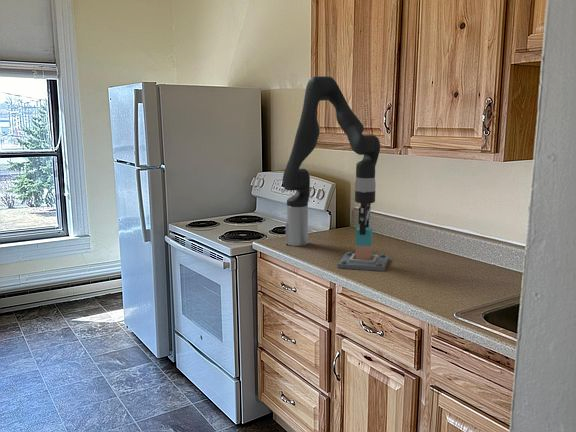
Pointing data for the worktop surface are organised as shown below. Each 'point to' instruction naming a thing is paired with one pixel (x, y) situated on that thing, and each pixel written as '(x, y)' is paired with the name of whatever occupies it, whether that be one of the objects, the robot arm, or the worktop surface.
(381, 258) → the plate
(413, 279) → the worktop surface
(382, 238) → the worktop surface
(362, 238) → the teal block
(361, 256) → the terracotta block
